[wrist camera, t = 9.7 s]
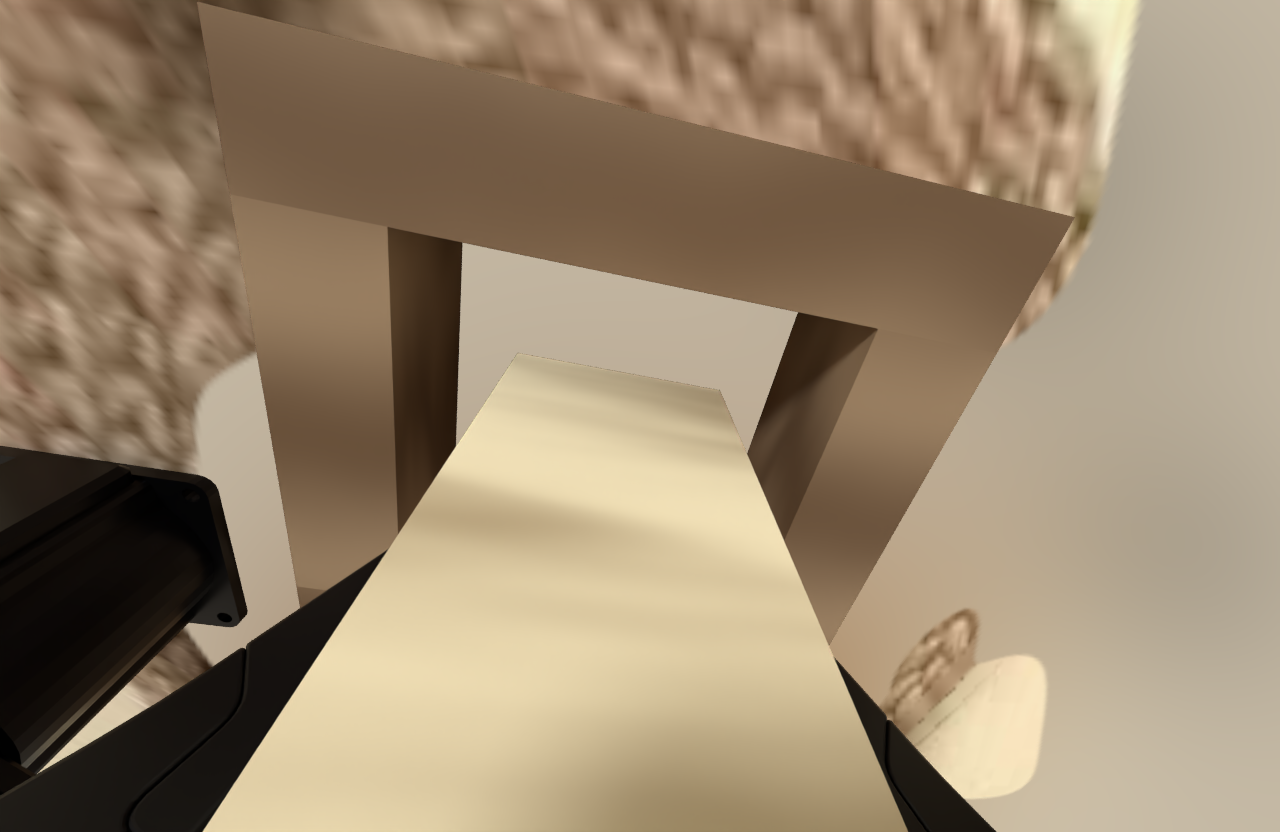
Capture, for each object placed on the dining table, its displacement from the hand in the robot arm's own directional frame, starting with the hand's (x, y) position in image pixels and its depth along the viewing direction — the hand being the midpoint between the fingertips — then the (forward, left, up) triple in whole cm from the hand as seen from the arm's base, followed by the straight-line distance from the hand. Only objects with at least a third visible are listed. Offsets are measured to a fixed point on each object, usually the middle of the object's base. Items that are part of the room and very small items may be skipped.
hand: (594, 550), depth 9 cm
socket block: (0, 0, -6) cm, 6 cm away
